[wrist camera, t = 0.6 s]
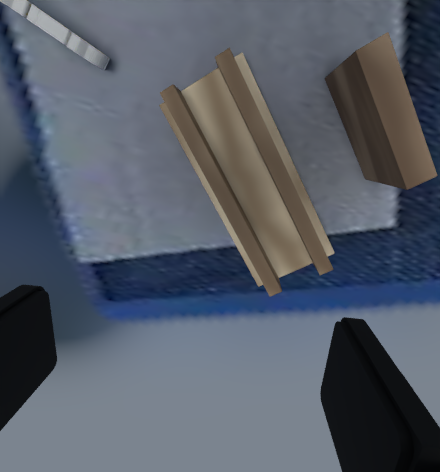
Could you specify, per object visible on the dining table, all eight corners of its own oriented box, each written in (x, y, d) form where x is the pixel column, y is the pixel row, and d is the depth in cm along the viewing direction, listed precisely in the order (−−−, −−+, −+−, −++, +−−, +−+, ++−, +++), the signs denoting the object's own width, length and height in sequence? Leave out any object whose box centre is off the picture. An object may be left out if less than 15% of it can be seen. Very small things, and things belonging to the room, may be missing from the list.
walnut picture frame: (347, 65, 30) (388, 32, 21) (386, 168, 33) (437, 175, 24) (324, 78, 30) (355, 50, 22) (365, 179, 33) (407, 189, 24)
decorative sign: (121, 65, 35) (94, 48, 26) (116, 76, 35) (88, 62, 26) (-36, -45, 30) (-140, -116, 21) (-40, -31, 30) (-143, -95, 21)
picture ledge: (242, 58, 30) (241, 39, 25) (329, 247, 36) (344, 264, 30) (164, 107, 32) (148, 99, 27) (257, 279, 38) (259, 300, 33)
